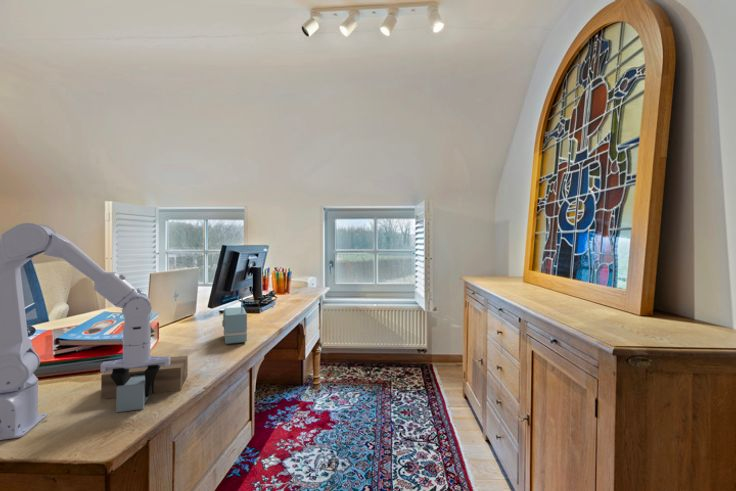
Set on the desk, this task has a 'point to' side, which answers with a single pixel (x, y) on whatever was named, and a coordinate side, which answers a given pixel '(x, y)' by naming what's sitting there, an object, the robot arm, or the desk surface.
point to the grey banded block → (235, 324)
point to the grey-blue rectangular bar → (132, 394)
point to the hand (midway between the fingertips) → (136, 396)
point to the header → (163, 382)
